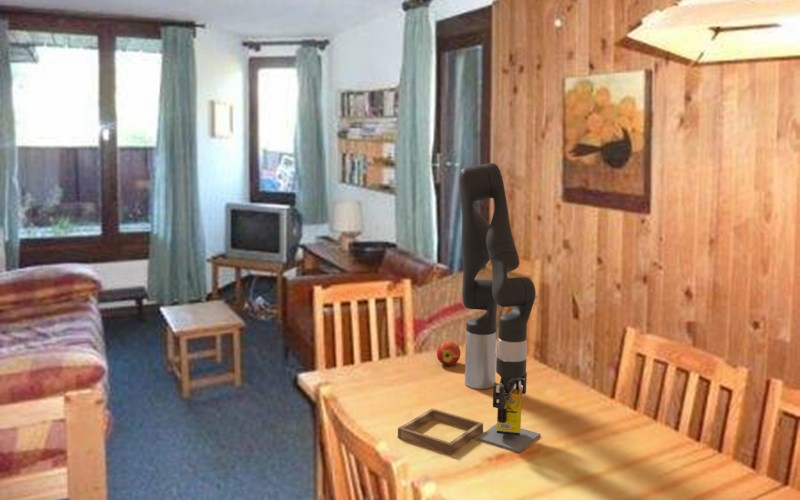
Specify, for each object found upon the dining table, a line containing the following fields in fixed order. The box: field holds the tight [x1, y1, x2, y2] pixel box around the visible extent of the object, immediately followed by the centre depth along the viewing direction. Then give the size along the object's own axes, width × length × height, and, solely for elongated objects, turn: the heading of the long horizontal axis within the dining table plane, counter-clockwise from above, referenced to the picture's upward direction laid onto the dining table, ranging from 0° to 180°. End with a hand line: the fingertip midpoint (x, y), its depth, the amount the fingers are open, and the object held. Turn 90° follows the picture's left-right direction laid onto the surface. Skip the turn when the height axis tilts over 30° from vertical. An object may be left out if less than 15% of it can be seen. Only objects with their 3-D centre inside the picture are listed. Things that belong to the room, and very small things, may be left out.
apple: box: [436, 340, 461, 366], centre depth 232 cm, size 8×8×8 cm
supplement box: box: [496, 387, 523, 435], centre depth 175 cm, size 6×6×11 cm
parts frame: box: [397, 408, 484, 455], centre depth 178 cm, size 16×16×2 cm
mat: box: [476, 423, 541, 454], centre depth 176 cm, size 12×12×1 cm
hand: (509, 416), depth 176 cm, fingers closed on supplement box, 7 cm apart
